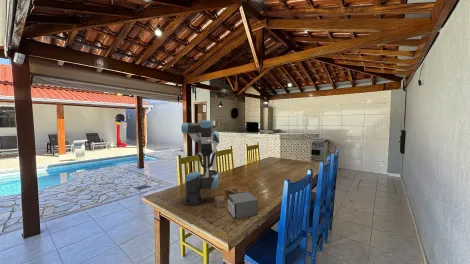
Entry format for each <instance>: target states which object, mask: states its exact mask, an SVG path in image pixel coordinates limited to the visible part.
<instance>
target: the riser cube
mask: <svg viewBox="0 0 470 264" xmlns="http://www.w3.org/2000/svg"><path fill="white" fill-rule="evenodd" d="M225 200H226V198H224V196H223V195H222V196H215V198H214V205H215V207H216V208H217V209H221V208H225V207H226V203H225V202H226V201H225Z"/></svg>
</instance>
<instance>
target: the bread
mask: <svg viewBox="0 0 470 264" xmlns="http://www.w3.org/2000/svg"><path fill="white" fill-rule="evenodd" d="M245 192H249V193H250V191H249V190H248V189H247V188H245V187H241V186H235V185H229V186H227V187H225V190H224V197H225V198H224V199H225V200H229V195H232V194H238V193H245ZM250 194H251V193H250Z"/></svg>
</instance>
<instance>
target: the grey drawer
mask: <svg viewBox="0 0 470 264" xmlns="http://www.w3.org/2000/svg"><path fill="white" fill-rule="evenodd" d="M227 210H228V211H229V213H230V214H231V217H232V218H236V207H235V206H234V205H233V204H232V203H231V202H230V200H229V199H227Z"/></svg>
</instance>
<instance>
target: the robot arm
mask: <svg viewBox="0 0 470 264" xmlns="http://www.w3.org/2000/svg"><path fill="white" fill-rule="evenodd" d="M212 123H213V122H212V120H205V119H204V120H200V122H184V123H182V124H181V129H180V130H181V133H182V134H185V135H186V134H188V135H189V136H190V139H191V140H192V141H193V142H195V143H199V144H200V151H199V152H197V154H196V155H197V157H198V158H199V159H198V160H199V163H200V166H201V167H202V168H203V173H201V172H200V171H191V172H190V173H188V174H186V175H185V182H184V183H185V195H184V198H183V204H184V205H186V206H192V207H193V206H197V205H200V204H202V203H203V202H204V197H203V194H202V192H201V190H207V189H208V190H215V189H217V188H218V187H219V181H220V174H219V172H218V171H217V146H218V144H220V136H219V135H220V134H219V132H218V130H213V129H214V128H213V124H212ZM202 156H203V159H202Z"/></svg>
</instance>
